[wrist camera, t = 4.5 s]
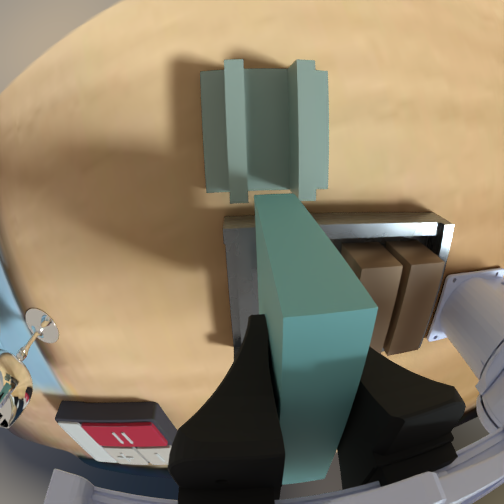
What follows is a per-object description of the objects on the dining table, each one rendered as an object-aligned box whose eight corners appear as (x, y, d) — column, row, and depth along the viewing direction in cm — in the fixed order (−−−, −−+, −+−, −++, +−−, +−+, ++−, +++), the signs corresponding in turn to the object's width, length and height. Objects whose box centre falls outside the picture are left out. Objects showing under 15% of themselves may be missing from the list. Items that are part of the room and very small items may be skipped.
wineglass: (35, 346, 26) (-11, 424, 15) (13, 303, 23) (-48, 378, 12) (72, 348, 26) (27, 438, 15) (50, 301, 23) (-15, 390, 12)
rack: (433, 212, 21) (454, 224, 19) (406, 328, 26) (419, 347, 24) (224, 216, 21) (222, 231, 18) (234, 347, 26) (234, 371, 23)
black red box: (189, 466, 31) (96, 464, 31) (190, 441, 35) (101, 442, 34) (153, 424, 26) (51, 422, 26) (157, 394, 30) (60, 399, 30)
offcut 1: (378, 241, 21) (402, 265, 18) (363, 326, 24) (379, 357, 21) (342, 243, 21) (362, 268, 17) (331, 330, 24) (344, 362, 21)
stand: (323, 73, 17) (342, 63, 13) (323, 185, 20) (342, 200, 17) (201, 74, 17) (193, 62, 13) (208, 189, 20) (201, 205, 16)
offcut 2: (417, 240, 21) (444, 262, 18) (399, 321, 25) (418, 349, 21) (386, 241, 21) (411, 265, 18) (370, 325, 24) (387, 355, 21)
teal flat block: (294, 193, 15) (378, 307, 6) (291, 335, 19) (324, 478, 9) (254, 195, 15) (283, 317, 6) (259, 337, 18) (276, 485, 9)
